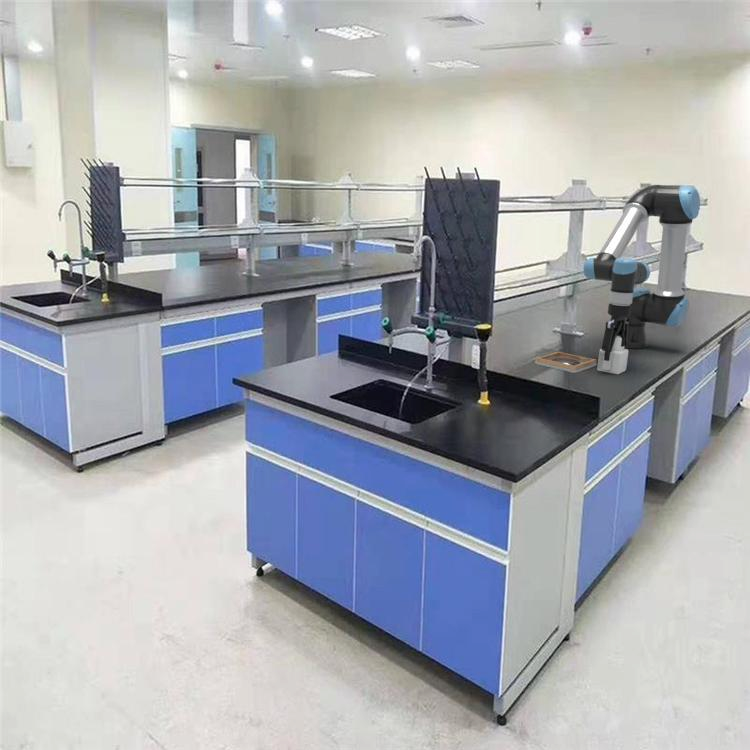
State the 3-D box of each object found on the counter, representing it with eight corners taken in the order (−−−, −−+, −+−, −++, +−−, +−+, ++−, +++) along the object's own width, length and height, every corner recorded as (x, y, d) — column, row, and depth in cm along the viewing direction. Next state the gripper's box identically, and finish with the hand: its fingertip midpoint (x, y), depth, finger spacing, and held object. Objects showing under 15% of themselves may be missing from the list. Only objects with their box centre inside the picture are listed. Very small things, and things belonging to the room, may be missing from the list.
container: (605, 366, 254) (609, 331, 251) (626, 370, 250) (631, 335, 246) (596, 370, 249) (601, 334, 245) (618, 374, 244) (622, 338, 240)
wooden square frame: (557, 357, 266) (557, 351, 265) (596, 365, 255) (597, 359, 255) (534, 363, 255) (535, 357, 254) (574, 373, 244) (575, 366, 244)
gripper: (623, 299, 252) (615, 360, 259) (596, 305, 238) (588, 369, 244) (643, 302, 247) (634, 364, 254) (617, 308, 233) (608, 374, 239)
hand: (611, 367), depth 249 cm, fingers closed on container, 8 cm apart
